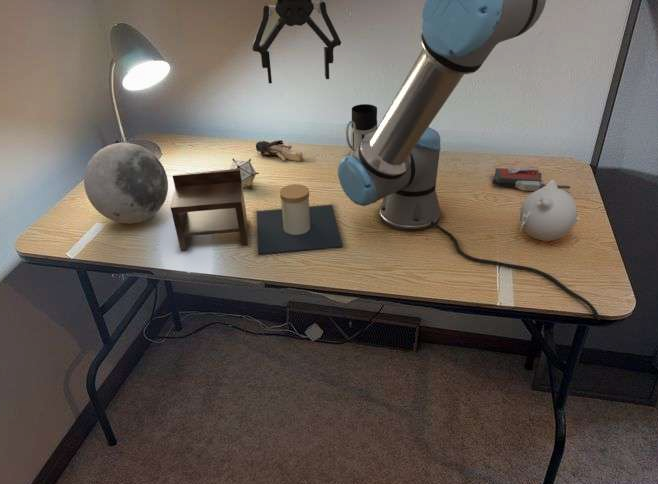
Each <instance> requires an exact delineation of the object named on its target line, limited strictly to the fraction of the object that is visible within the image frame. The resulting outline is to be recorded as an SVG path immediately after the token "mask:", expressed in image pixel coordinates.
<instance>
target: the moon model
mask: <svg viewBox="0 0 658 484" xmlns="http://www.w3.org/2000/svg"><path fill="white" fill-rule="evenodd" d="M83 186H84V191H85V194H86V197H87V198H88V200H89V203H90V204H91V205H92V207H93V208H94V209H95V210H96V211H97V212H98V213H99V214H100V215H102V216H103V217H105V218H106V219H109V220H110V221H112V222H115V223H121V224H137V223H141V222H145V221H146V220H148V219H150V218H152V217H153V216H155V215H156V214H157V213H158V212H159V211H160V210H161V208H162V207H163V206H164V204H165V202H166V199H167V196H168V191H169V180H168V175H167V172H166V170H165V168H164V166H163V164H162V162H161V161H160V160H159V158H158V157H157V156H156V155H155V154H154V153H152V152H151V151H150V150H148V149H147V148H145V147H143V146H141V145H138V144H136V143H135V144H134V143H131V142H117V143H112V144H108V145H107V146H104V147H102V148H100V149H99V150H98V151H97V152H96V153H94V155H92V156H91V158H90V159H89V161H88V163H87V165H86V167H85V170H84V175H83Z"/></svg>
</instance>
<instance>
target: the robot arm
mask: <svg viewBox="0 0 658 484" xmlns="http://www.w3.org/2000/svg"><path fill="white" fill-rule="evenodd" d="M546 3H547V0H424V3H423V6H422V10H421V18H422V19H423V20H422V21H423V23H421V25H420V27H421V34H420V43H421V45H422V49H421V51H420V53H419V55H418V56H417V58H416V60H415V61H414V63H413V65H412V67H411V68H410V70H409V72H408V73H407V75H406V77H405V79H404V80H403V82H402V84H401V86H400V88H399V90H398V91H397V93H396V95H395V97H394V98H393V100H392V102H391V103H390V105H389V107H388V108H387V110H386V112H385V114H384V116H382V119H381V120H380V123H379V125H377V129H376V131H374V132H371V133H369V134H367V135H366V136H365V137H364V138H363V140H362V141H361V143H360V145H359V147H358V149H357V150H356V152H355V153H353V154H352V155H350V154H348V155H345V157H343V158H342V159H341V160H340V161H339V163H338V165H337V178H338V180H339V185H340V186H341V190H342V191H343V192H344V194H345V195H346V197H347V198H348V199H349V200H350V201H351V202H352V203H354V204H355V205H359V206H360V207H366V206H369V205H372V204H376V203H377V202H378V201H380V200H381V204H380V207H379V218H380V220H381V222H382V223H383V224H385V225H386V226H388V227H390V228H392V229H394V230H399V231H404V232H418V231H425V230H428V229H431V228H433V227H435V228H436V229H437V230H439V231H440V232H442V233H444V234H445V235H447V237H449V238H450V239H451V240H452V241H453V244H454V246H455V249H456V251H457V252H458V253H459V254H460V255H461V256H462V257H464V258H466V259H468V260H470V261H473V262H476V263H482V264H490V265H496V266H501V267H505V268H512V269H518V270H524V271H528V272H533V273H535V274H538V275H541V276H543V277H545V278H547V279H549V280H550V281H552V282H553V283H554V284H556V285H557V286H559V288H561V289H562V290H563V291H565V292H566V293H567V294H569V295H571V296H572V297H573V298H576V300H579V301H581V303H584V304H585V305H586V306H587V307H588V308H589V309H590V311H591V312H592V314H593V315H594V317H595V320H597V321H601V316H600V315H599V312H598V311H597V309H596V307H595V306H594V305H593V304H592V303H591V302H590V301H588V300H587V299H586V298H584V296H583V297H582V295H579V294H578V293H576V292H574V291H573V290H571V289H570V288H568V287H567V286H565V285H564V284H563V283H561V282H560V281H559V279H556V278H555V277H554V276H552V275H551V274H549V273H547V272H544V271H542V270H539V269H537V268H534V267H529V266H525V265H518V264H512V263H506V262H501V261H496V260H491V259H490V260H489V259H483V258H477V257H475V256H471V255H468V254H467V253H465V252H464V251H463V250H462V249H461V248H460V245H459V242H458V240H457V239H456V237H455V236H454V235H453V234H452V233H450V232H449V231H447V230H446V229H445V228H443V227H441V226H440V225H439V224H438V223H439V221H440V219H441V206H440V203H439V202H440V201H439V199H438V195H437V190H436V187H437V179H438V169H439V160H440V151H441V135H440V133H439V132H438V131H437V130H436V129H434V128H432V127H430V125H431V124H432V122H433V121H434V119H435V118H436V117H437V115H438V113H440V111H441V109H442V108H443V107H444V105H445V104H446V102H447V101H448V99H449V97H450V96H451V95H452V93H453V92H454V90H455V89H456V88H457V86H458V85H459V83H460V82H461V81H462V79H463V77H464V76H465V75H470V74H474V73H476V72H477V71H478V70H479V69H480V68H481V67H482V66H483V64H484V63H485V62H486V60H487V59H488V57H489V55H490V54H491V53H492V51H493V50H494V49H495V48H496V46H497V45H498V44H500V43H502V42H505V41H508V40H511V39H514V38H516V37H519V36H521V35H523V34H525V33H526V32H528V31H529V30H530V29H531V28H532V27H533V26H534V25H535V24H536V23H537V22H538V20H539V19H540V18H541V15H542V14H543V12H544V9H545V8H546V7H545V6H546ZM314 9H315V10H316V12H317V13H318V14H320V15H321V17H322V19H323V21H324V23H325V25H326V27H327V30H328V31H329V33H330V35H331V37H332V40H331V39H330V38H329V37H328V36H327V35H326V34H325V33H324V31H323V30H322V29H321V28H320V27H319V25H317V23H316V22H315V21H314V19H313V18H312V17H311V15H312V13H313V11H314ZM274 12H275V13H276V14H277V15H278V17H279V18H278V19H277V20H276V23H275V25H273V28H272V29H271V31H270V32H269V33H268V35H267V37H266V38H265V39H264V41H263V42H262V39H263V36H264V33H265V30H266V28H267V24H268V22H269V17H272V16H273V13H274ZM305 24H307V25H308V26H309V27H310V29H311V30H312V31H313V32H314V33H315V34H316V35H317V36H318V38H319V39H320V40H321V41H322V42H323V44H324V45H325V46H323V54H324V55H323V58H324V59H323V61H324V64H323V65H324V78H325V79H326V80H330V64H333V63H334V49H335V48H336V47H339V46H341V44H342V41H341V39H340V37H339V35H338V32H337V30H336V28H335V27H334V24H333V22H332V20H331V18H330V16H329V14H328V12H327V4H326V2H325V0H318V1H316V2H313V1H312V0H276V2H275V4H273V5H272V4H268V3H266V2H265V3H263V4H262V16H261V19H260V22H259V25H258V28H257V31H256V33H255V35H254V40H253V42H252V45H251V49H252V51H253V52H256V53H259V54H260V59H261V67H262V69H267V70H266V71H267V82H268V84H273V79H272V69H271V68H272V67H271V59H270V57H271V56H270V50H269V48H270V47H271V45H272V44H273V43H274V41H275V40H276V38H277V36H279V34H280V32H281V30H282V29H283V28H284V27H285V25H286V26H288V27H294V26H304V25H305ZM261 42H262V44H261Z"/></svg>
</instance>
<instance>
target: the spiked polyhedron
mask: <svg viewBox="0 0 658 484" xmlns="http://www.w3.org/2000/svg"><path fill="white" fill-rule="evenodd" d="M232 161H233V162H232V164H231V167H230V168H229V170H230V169H240V172H241V179H242V186H243V188H245V187H246V188H249V189H250V190H252V189H253V187H252V184H253V182H254V180H255V177H256V176H257V175H259V174H260V173H259V172H258V171H257V172H256V170H255V168H254V167H253V165H252V163H251V161H252V159H251V158H249V160H235V158H232Z"/></svg>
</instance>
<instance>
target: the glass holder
mask: <svg viewBox="0 0 658 484" xmlns="http://www.w3.org/2000/svg"><path fill="white" fill-rule="evenodd" d="M346 124H347V125H346V128H345V138H346V139H345V140H346V143H347V146H348V147H349V149H350V154H349V155H352V154H353V153H355V152H356V150H357V149H358V147H359V145H360V143H361V141H362V140H363V138H364V137H365V136H366V135H367V134H369V133H371V132H374V131H376V129H377V128H378V107H377V106H376V105H374V104H369V103H362V104H356V105H353V106H352V107H351V120H349V121H348V123H346ZM349 129H350V137H349Z"/></svg>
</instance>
